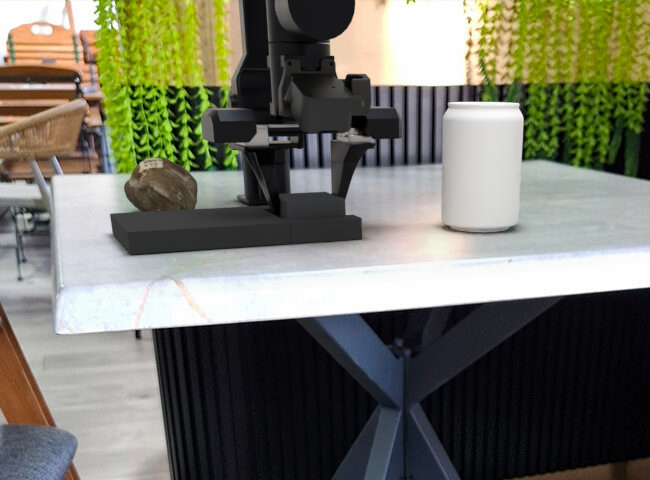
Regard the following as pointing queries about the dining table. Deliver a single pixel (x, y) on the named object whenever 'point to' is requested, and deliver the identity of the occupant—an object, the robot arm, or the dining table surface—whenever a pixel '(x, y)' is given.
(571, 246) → the dining table surface
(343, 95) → the robot arm
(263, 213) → the u-shaped holder
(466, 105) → the beverage can
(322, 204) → the pad
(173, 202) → the fossilized seashell
